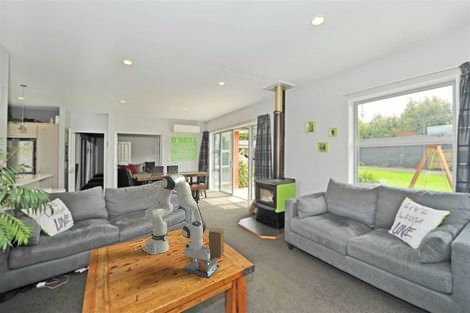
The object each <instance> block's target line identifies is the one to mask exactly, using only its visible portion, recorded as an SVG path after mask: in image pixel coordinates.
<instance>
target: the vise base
mask: <svg viewBox="0 0 470 313" xmlns="http://www.w3.org/2000/svg"><path fill="white" fill-rule="evenodd" d="M197 260H198V259H197ZM219 268H220V265H219V264H217V257H212V258H210V261H209V262H208V263H207V264H206V265H205V271H201V270H199V271H197V270H196V264H195V261H194V259H192V260H191V261H190V262H189V263H187V265H185V266H183V268H182V271H183V272H187V273H188V274H194V275H197V276H200V277H204V278H209V279H210V278H211V277H212V276H213V275H214V274H215V273H216V271H217V270H218V269H219Z"/></svg>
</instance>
